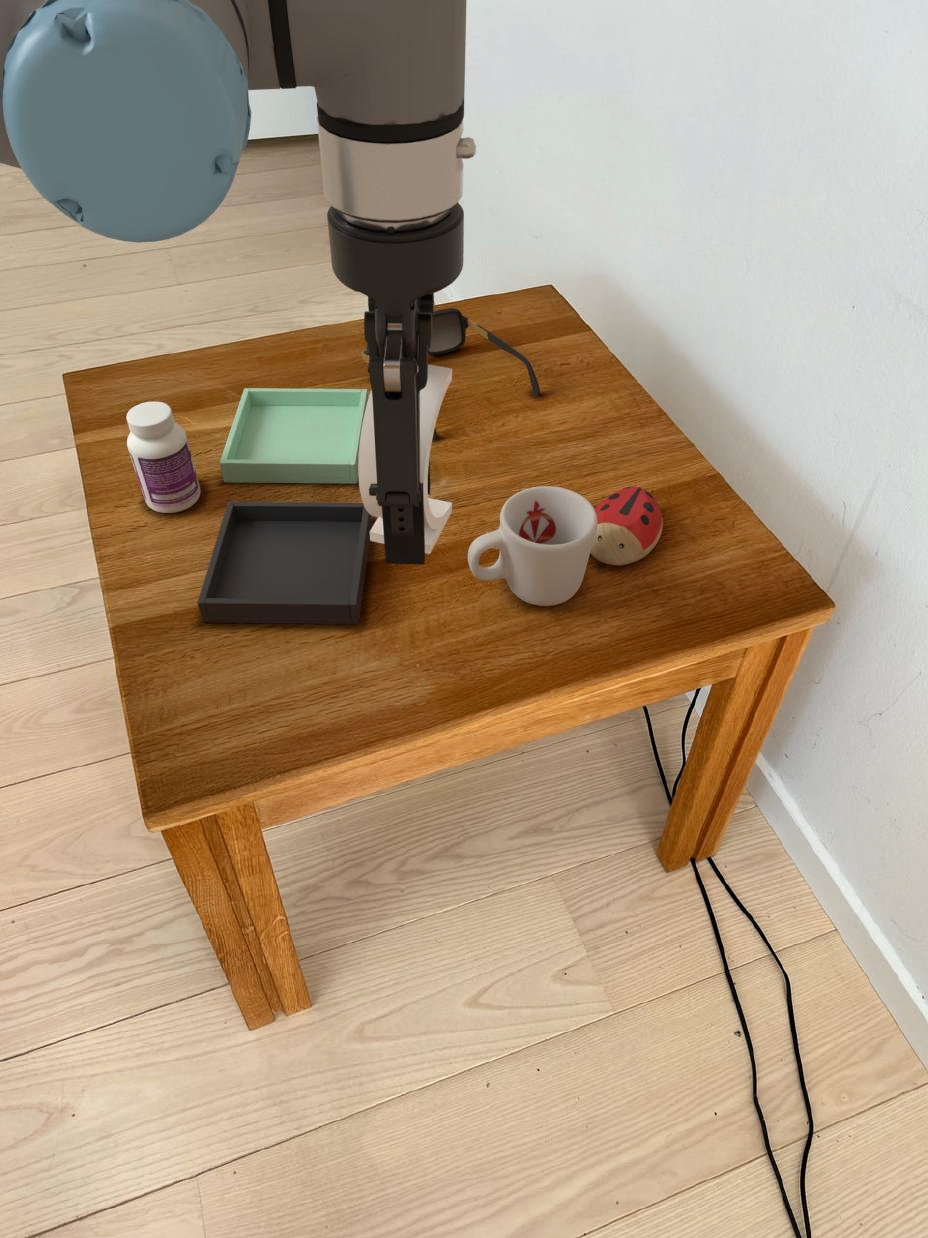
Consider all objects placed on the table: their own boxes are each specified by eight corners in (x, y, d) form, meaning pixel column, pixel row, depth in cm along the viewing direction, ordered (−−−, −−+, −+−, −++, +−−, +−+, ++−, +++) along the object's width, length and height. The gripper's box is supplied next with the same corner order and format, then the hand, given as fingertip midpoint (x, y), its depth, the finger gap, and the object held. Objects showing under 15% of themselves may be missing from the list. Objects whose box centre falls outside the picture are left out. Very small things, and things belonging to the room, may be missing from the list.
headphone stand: (452, 511, 69) (452, 368, 60) (425, 563, 65) (421, 418, 56) (394, 499, 70) (386, 356, 61) (364, 549, 66) (351, 404, 57)
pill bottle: (213, 492, 90) (192, 407, 83) (174, 522, 87) (149, 437, 80) (173, 474, 92) (149, 390, 85) (133, 502, 89) (105, 418, 82)
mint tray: (223, 482, 91) (219, 462, 90) (248, 406, 101) (244, 387, 99) (357, 483, 91) (355, 464, 89) (369, 407, 100) (367, 388, 99)
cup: (481, 632, 77) (482, 562, 72) (456, 569, 83) (455, 499, 77) (602, 607, 79) (612, 537, 74) (570, 547, 85) (577, 477, 79)
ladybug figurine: (571, 558, 84) (574, 528, 81) (604, 495, 90) (608, 465, 87) (643, 579, 82) (648, 549, 79) (672, 513, 88) (678, 483, 85)
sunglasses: (434, 440, 96) (433, 399, 93) (358, 376, 105) (355, 335, 101) (539, 396, 102) (542, 355, 98) (459, 338, 110) (459, 299, 107)
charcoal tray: (202, 622, 78) (197, 602, 77) (232, 521, 87) (228, 501, 86) (358, 624, 78) (356, 604, 76) (372, 522, 87) (370, 502, 85)
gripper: (459, 291, 44) (457, 625, 60) (467, 137, 57) (463, 444, 74) (300, 287, 44) (341, 623, 60) (346, 134, 57) (369, 442, 74)
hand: (408, 524), depth 67 cm, fingers closed on headphone stand, 7 cm apart
